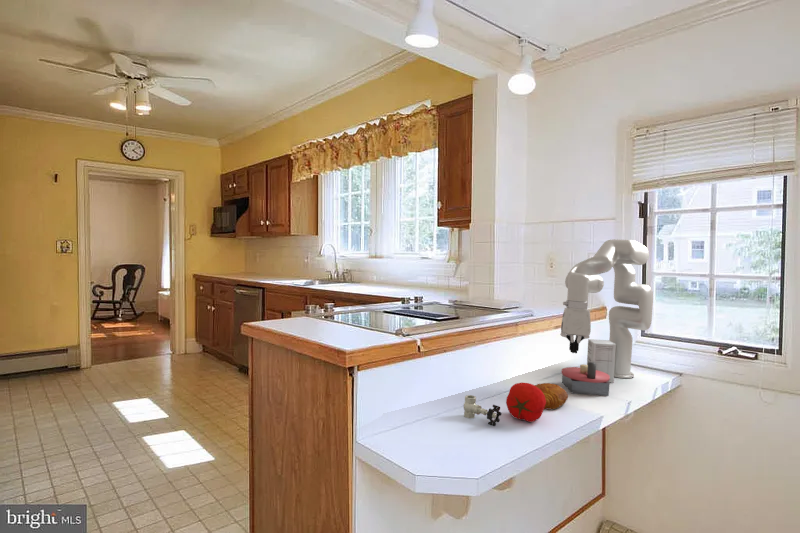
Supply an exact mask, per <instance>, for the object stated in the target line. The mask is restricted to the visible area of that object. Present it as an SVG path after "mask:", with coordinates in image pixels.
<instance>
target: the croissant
mask: <svg viewBox="0 0 800 533" xmlns="http://www.w3.org/2000/svg"><path fill="white" fill-rule="evenodd" d="M533 385H534V386H536V387H537V388H539V389H540V390H541V391H542V392H543V394H544V395H545V399H546V405H545V407H544V409H546V410H551V409H553V410H555V409H559V408H560V407H561V406H563V405H564V404H565V403H566V402H567V401H568V399H569V394H568V392H567V391H566V390H565V389H564V388H563V387H561V385H559V384H555V383H550V382H543V383H537V384H533Z"/></svg>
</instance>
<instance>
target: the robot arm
mask: <svg viewBox="0 0 800 533" xmlns="http://www.w3.org/2000/svg"><path fill="white" fill-rule="evenodd" d="M649 256H650V253H649V249H648V248H647V247H646V246H645V245H644V244H642V243H640V242H638V241H636V240H634V239H633V240H632V239H608V240H605V242H603V243H602V244H601V246H600V248H599V249H598V250H597V251H596V252H595V253H594V255H593V257H590V258H586V259H584V260H583V261H580V262H578V263H576V264H575V265H574V266H573V267H572V268H571V269H569V272H567V275H566V276H565V281H564V284H565V287H566V288H567V295H566V296H567V298H566V301H563V302H562V305H563V306H565V307H564V310H563V313H562V317H561V326H560V336H561V337H563V338H566V339H567V341H568V342H569V351H570V353H572V354H578V352H579V347H580V343H581V342H582V341H583V340H586V339H590V335H591V324H592V323H591V311H590V309H588V303H589V294H598V293H599V292H601V291H602V290H603V288H604V285H605V284H604V283H605V282H604V279H603V277H602V276H601V274H604V273H608V272H609V271H610V270H612V269H613V272H614V282H613V283H614V284H613V299H614V301H615V302H617V303H619V304H625V305H632V306H633V305H634V306H638V307H630V306H624V305H623V306H622V305H617V306H613V307H611V308H610V309H609V312H608V323H609V341H611V342H613V343H614V344H616V348H615V368H614V378H618V379H619V378H620V379H633V378H634V377H635V374H634V373H633V372H632V371H631V368H632V367H631V366H632V352H633V335H632V333H631V332H630V330H629V329H632V330H638V331H639V330H640V331H647V330H649V329H650V327H651V326H652V319H653V308H654V307H653V303H654V291H653V289H652V287H651V286H650V285H648V284H644V283H643V284H642V283H636V273H637V272H636V270H635V268H634V266H635V265H636V266H642V265H645V264H646V263H647V262H648V260H649V258H650V257H649ZM632 265H634V266H632ZM632 377H633V378H632Z"/></svg>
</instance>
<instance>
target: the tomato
mask: <svg viewBox="0 0 800 533" xmlns="http://www.w3.org/2000/svg"><path fill="white" fill-rule="evenodd" d="M534 385H535V384H532V383H529V382H518V383H515V384H513V385H512V386H511V387H510V388H509V392H508V395H507V396H506V400H505V404H506V407H507V408H506V409H507V411H508V412H509V414H510V415H511V416H512V417H513V418H515V419H517V420H524V421H525V422H530V423H533V422H535V421H538V420H539V419H540V418H541V416H542V415H543V413H544V409H545V408H544V407H545V405H546V399H545V395H544V394H543V392H542V391H541V390H540V389H539V388H537V387H536V386H534Z"/></svg>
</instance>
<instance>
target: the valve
mask: <svg viewBox="0 0 800 533" xmlns="http://www.w3.org/2000/svg"><path fill="white" fill-rule="evenodd" d="M476 402H477V397H476V396H475V395H471V394H468V395H465V396H464V403H463V411H464V412H463V417H464V418H467V419H475V418H476V415H477V416H478V415H484V416H486V419H487V420H489V421H487V425H489V426H492V427H496V426H497V423H500V420H501V419H500V418H499V417H501V416H502V413H503V412H501V411H500V410H501V406H499V405H496V404H492V406H491V407H492V408H489V409H488V410H487V409H486V408H483V407H482V405H481V404H476ZM493 419H494V420H493Z"/></svg>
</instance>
